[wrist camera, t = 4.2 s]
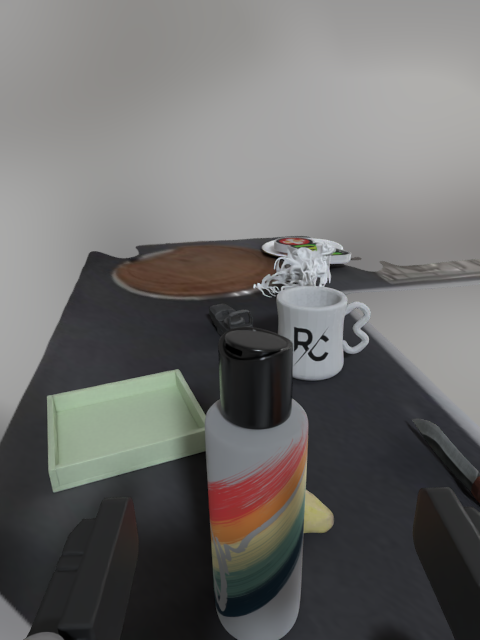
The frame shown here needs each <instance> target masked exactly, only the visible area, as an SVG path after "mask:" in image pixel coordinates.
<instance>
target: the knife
mask: <svg viewBox="0 0 480 640" xmlns="http://www.w3.org/2000/svg"><path fill="white" fill-rule="evenodd" d="M412 420H413V422H414V423H415V425H416V426H417V428H418V430H419V431H420V433H421V434H422V436H423V437H424V438H425V440H426V441H427V443H428V444H429V445H430V446H431V448H432V449H433V450H434V452H435V453H436V454H437V455H438V456H439V458H440V459H441V460H442V461H443V462H444V463H445V464H446V466H447V467H448V468H449V469H450V470H451V471H452V472H453V473H454V474H455V475H456V476H457V478H458V479H459V480H460V481H461V482H462V483H463V484H464V485H465V486H466V487H467V488H468V489H469V490H470V491H471V493H472V494H473V496H474V497H475V499H476V500H477V501H478V502H479V503H480V473H479V472H478V470H477V469H476V468H474V467H473V466H472V465H471V464H470V462H469V461H468V460H467V459H466V458H465V457H464V456H463V455H462V454H461V453H460V452H459V451H458V449H457V448H456V447H455V446H454V445H453V444H452V443H451V441H450V440H449V439H448V438H447V437H446V435H445V434H444V433H443V432H442V431H441V429H440V428H439V427H438V426H436V425H435V424H433V423H431V422H430V421H426V420H422V419H412Z"/></svg>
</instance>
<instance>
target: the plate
mask: <svg viewBox="0 0 480 640" xmlns="http://www.w3.org/2000/svg"><path fill="white" fill-rule="evenodd" d="M308 239H312V240H314V241H315V242H318V243H323V244H324V241H325V242H327V241H328V242H329V243H330V245H332V247H335V248H338V249H341V250H343V247H342V246H341V245H340V244H338V243H336V242H333V241H329V240H324V239H316V238H308ZM274 241H275V240H274ZM274 241H270V242H268V243H265V244H264V245H263V246H262V250H263V251H264V252H265V253H268V254H270V255H273V256H277V257H286V258H287V253H285V252H280V251H277V250H275V249H274Z"/></svg>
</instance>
